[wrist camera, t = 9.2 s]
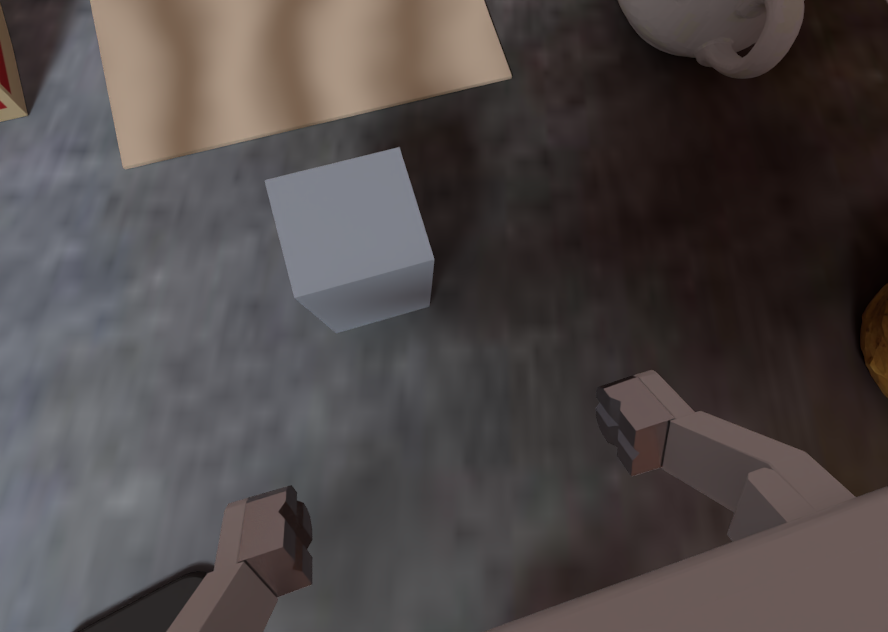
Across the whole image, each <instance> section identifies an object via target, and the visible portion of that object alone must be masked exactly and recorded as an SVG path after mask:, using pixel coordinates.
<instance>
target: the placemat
mask: <svg viewBox="0 0 888 632" xmlns="http://www.w3.org/2000/svg"><path fill="white" fill-rule="evenodd" d="M90 3H91V8H92V13H93V18H94V23H95V28H96V33H97V38H98V43H99V48H100V53H101V59H102V64H103V69H104V74H105V79H106V84H107V89H108V94H109V99H110V104H111V109H112V114H113V120H114V125H115V130H116V135H117V140H118V145H119V150H120V155H121V160H122V165H123V168H124V169H129V168H134V167H138V166H142V165H146V164H151V163H155V162H159V161H163V160H168V159H172V158H176V157H180V156H185V155H189V154H193V153H197V152H202V151H206V150H210V149H214V148H219V147H223V146H227V145H231V144H235V143H240V142H244V141H248V140H252V139H257V138H261V137H265V136H269V135H274V134H278V133H282V132H286V131H291V130H295V129H299V128H303V127H308V126H312V125H316V124H320V123H325V122H329V121H333V120H337V119H341V118H346V117H350V116H354V115H358V114H363V113H367V112H371V111H375V110H380V109H384V108H388V107H392V106H397V105H401V104H405V103H409V102H414V101H418V100H422V99H426V98H431V97H435V96H439V95H443V94H447V93H452V92H456V91H460V90H464V89H469V88H473V87H477V86H481V85H486V84H490V83H494V82H498V81H503V80H507V79H511V78H512V75H511V72H510V69H509V67H508V64H507V61H506V59H505V56H504V53H503V51H502V48H501V45H500V42H499V40H498V37H497V34H496V32H495V29H494V26H493V23H492V21H491V18H490V15H489V13H488V10H487V7H486V4H485V2H484V0H90Z"/></svg>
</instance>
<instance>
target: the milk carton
mask: <svg viewBox="0 0 888 632" xmlns="http://www.w3.org/2000/svg"><path fill="white" fill-rule="evenodd" d="M24 116H28V113H27V109H26V104H25V100H24V95H23V91H22V86H21V82H20V78H19V73H18V69H17V64H16V60H15V55H14V51H13V46H12V43H11V39H10V36H9V32H8V28H7V25H6V21H5V18H4V14H3V11H2V7H1V3H0V122H2V121H6V120H11V119H15V118H19V117H24Z"/></svg>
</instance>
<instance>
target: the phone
mask: <svg viewBox="0 0 888 632" xmlns="http://www.w3.org/2000/svg"><path fill="white" fill-rule="evenodd" d="M206 575H207V573H205V572H192V573H189V574H186V575H184V576H182V577H180V578H178V579H176V580H174V581H172V582H171V583H169V584H167V585H165V586H163V587H161V588H159V589H157V590H155V591H153V592H152V593H150V594H148V595H146V596H144V597H142V598H140V599H138V600H136V601H135V602H133V603H131V604H129V605H127V606H125V607H123V608H121V609H120V610H118V611H116V612H114V613H112V614H110V615H108V616H106V617H104V618H103V619H101V620H99V621H97V622H95V623H93V624H91V625H90V626H88V627H86V628H84V629H82V630H81V631H79V632H166V631H167V630H168V629H169V627H170V626H171V624H172V623H173V621H174V620H175V619H176V617H177V616H178V614H179V613H180V612H181V610H182V609H183V607H184V606H185V604H186V603H187V602H188V600H189V599H190V597H191V596H192V594H193V593H194V592H195V590H196V589H197V587H198V586H199V584H200V583H201V582H202V580H203V579H204V577H205V576H206Z"/></svg>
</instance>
